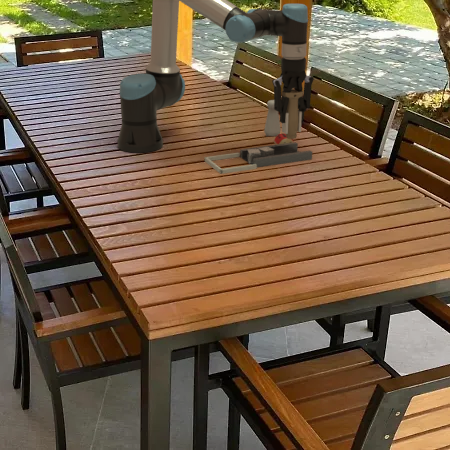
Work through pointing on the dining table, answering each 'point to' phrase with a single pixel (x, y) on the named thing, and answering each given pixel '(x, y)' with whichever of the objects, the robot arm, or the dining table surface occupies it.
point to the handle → (292, 112)
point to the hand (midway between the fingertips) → (291, 131)
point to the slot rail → (279, 155)
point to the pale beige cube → (266, 152)
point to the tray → (227, 170)
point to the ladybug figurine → (282, 139)
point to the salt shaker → (272, 120)
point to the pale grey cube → (252, 155)
